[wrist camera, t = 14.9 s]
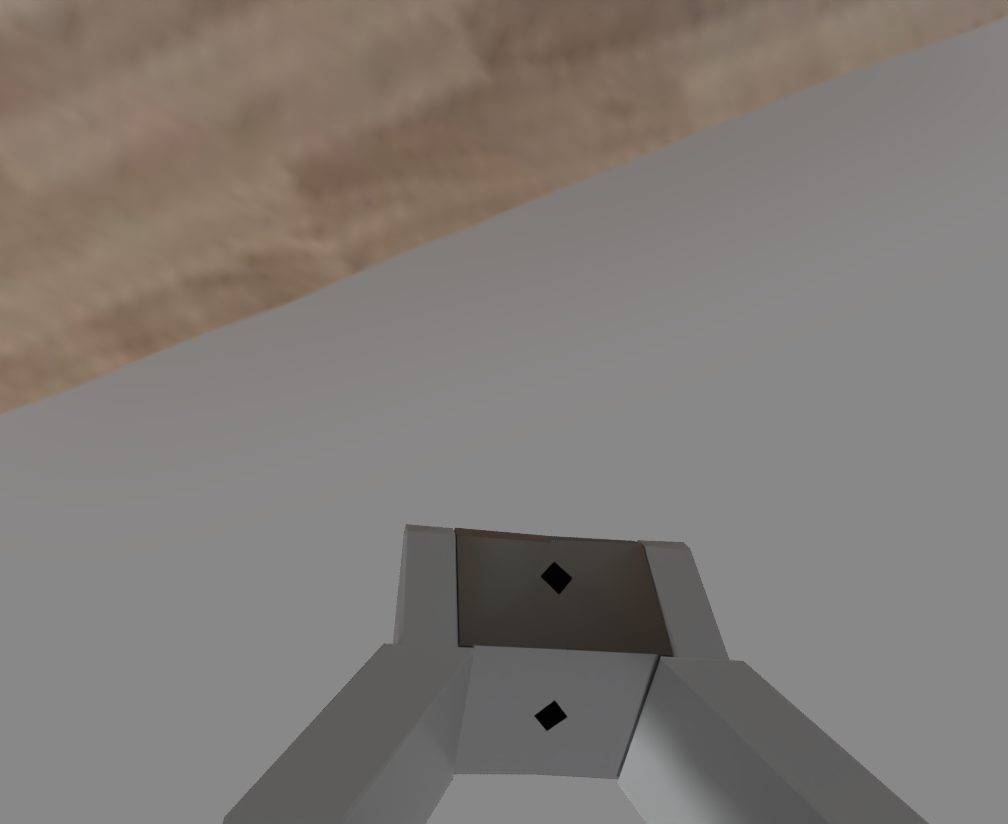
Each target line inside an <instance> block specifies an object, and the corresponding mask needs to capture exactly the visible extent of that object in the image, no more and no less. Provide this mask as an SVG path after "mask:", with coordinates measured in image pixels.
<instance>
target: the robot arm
mask: <svg viewBox="0 0 1008 824" xmlns="http://www.w3.org/2000/svg"><path fill="white" fill-rule="evenodd" d="M454 774H538V775H556V776H573V777H591V778H607V779H619V780H618V785H619V786H620V788H621V789H622V790H623V792H624V793H625V794H626V796H627V797H628V798H629V800H630V801H631V803H632V804H633V805H634V807H635V808H636V809H637V811H638V812H639V813H640V815H641V816H642V817H643V819H644V820H645V821H646V823H647V824H929V823H927V822H926V821H925V820H924V819H923V818H922V817H921V816H919V815H918V814H917V813H916V812H915V811H914V810H913V809H911V808H910V807H909V806H908V805H907V804H906V803H905V802H903V801H902V800H901V799H900V798H899V797H898V796H896V795H895V794H894V793H893V792H892V791H891V790H890V789H888V787H886V786H885V785H884V784H883V783H882V782H881V781H879V780H878V779H877V778H876V777H875V776H874V775H873V774H872V773H870V772H869V771H868V770H867V769H866V768H865V767H863V766H862V765H861V764H860V763H859V762H858V761H857V760H856V759H854V758H853V757H852V756H851V755H850V754H849V753H848V752H846V751H845V750H844V749H843V748H842V747H841V746H840V745H839V744H837V743H836V742H835V741H834V740H833V739H832V738H831V737H829V736H828V735H827V734H826V733H825V732H824V731H822V730H821V729H820V728H819V727H818V726H817V725H816V724H815V723H813V722H812V721H811V720H810V719H809V718H808V717H806V716H805V715H804V714H803V713H802V712H801V711H800V710H799V709H797V708H796V707H795V706H794V705H793V704H792V703H790V701H788V700H787V699H786V698H785V697H784V696H782V695H781V694H780V693H779V692H778V691H777V690H775V688H774V687H772V686H771V685H770V684H769V683H768V682H767V681H766V680H764V679H763V678H762V677H761V676H760V675H759V674H758V673H756V672H755V671H754V670H753V669H752V668H751V667H750V666H748V665H747V664H746V663H745V662H744V661H735V660H734V661H733V660H729V657H728V655H727V652H726V649H725V646H724V643H723V640H722V638H721V635H720V632H719V629H718V626H717V624H716V621H715V618H714V615H713V612H712V609H711V606H710V604H709V601H708V598H707V595H706V592H705V589H704V587H703V584H702V581H701V578H700V575H699V573H698V570H697V567H696V564H695V561H694V558H693V556H692V553H691V550H690V548H689V547H688V546H686V544H684V542H664V541H643V540H642V541H641V540H638V541H637V542H635V541H625V540H609V539H592V538H575V537H557V536H543V535H531V534H520V533H509V532H498V531H486V530H475V529H463V528H455V530H454V531H453V529H452V528H443V527H430V526H419V525H408V524H406V527H405V531H404V538H403V548H402V558H401V567H400V578H399V586H398V596H397V605H396V616H395V627H394V637H393V644H383V645H382V646H381V647H380V648H379V649H378V651H377V652H376V653H375V654H374V655H373V656H372V657H371V658H370V659H369V660H368V661H367V662H366V664H365V665H364V666H363V667H362V668H361V669H360V670H359V671H358V672H357V673H356V675H355V676H354V677H353V678H352V679H351V680H350V681H349V682H348V683H347V684H346V685H345V686H344V688H343V689H342V690H341V691H340V692H339V693H338V694H337V695H336V696H335V697H334V698H333V700H332V701H331V702H330V703H329V704H328V705H327V706H326V707H325V708H324V709H323V710H322V712H321V713H320V714H319V715H318V716H317V717H316V718H315V719H314V720H313V721H312V722H311V723H310V725H309V726H308V727H307V728H306V729H305V730H304V731H303V732H302V733H301V734H300V736H299V737H298V738H297V739H296V740H295V741H294V742H293V743H292V744H291V745H290V746H289V747H288V749H287V750H286V751H285V752H284V753H283V754H282V755H281V756H280V757H279V759H277V761H276V762H275V763H274V764H273V765H272V766H271V767H270V768H269V769H268V770H267V771H266V772H265V774H264V775H263V776H262V777H261V778H260V779H259V780H258V781H257V782H256V784H254V786H253V787H252V788H251V789H250V790H249V791H248V792H247V793H246V794H245V796H243V798H242V799H241V800H240V801H239V802H238V803H237V804H236V805H235V806H234V807H233V809H232V810H231V811H230V812H229V813H228V814H227V815H226V816H225V817H224V821H223V824H425V823H426V822H427V820H428V819H429V817H430V816H431V814H432V812H433V811H434V809H435V807H436V806H437V804H438V803H439V801H440V799H441V798H442V796H443V794H444V793H445V791H446V789H447V788H448V786H449V785H450V783H451V781H452V780H453V775H454Z"/></svg>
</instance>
